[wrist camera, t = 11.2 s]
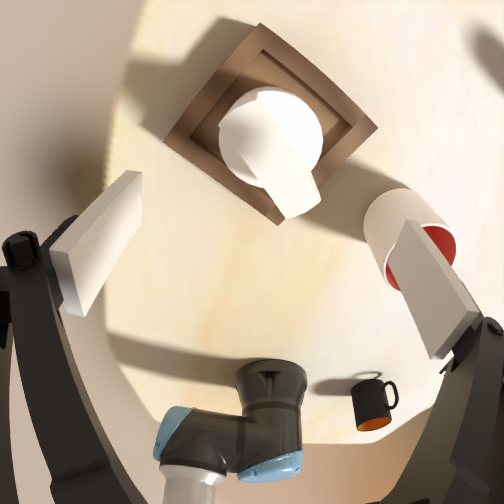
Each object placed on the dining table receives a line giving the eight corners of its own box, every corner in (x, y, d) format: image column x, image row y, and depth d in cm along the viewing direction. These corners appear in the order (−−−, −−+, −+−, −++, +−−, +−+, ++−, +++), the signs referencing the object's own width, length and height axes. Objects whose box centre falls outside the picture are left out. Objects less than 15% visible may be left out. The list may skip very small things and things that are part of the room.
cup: (352, 198, 37) (375, 241, 29) (419, 175, 35) (457, 211, 26) (368, 256, 42) (388, 304, 34) (428, 235, 40) (457, 278, 32)
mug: (401, 375, 62) (411, 412, 53) (365, 398, 68) (371, 432, 59) (381, 367, 59) (391, 407, 51) (344, 392, 65) (349, 429, 57)
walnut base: (276, 209, 39) (277, 225, 35) (173, 133, 33) (163, 142, 30) (366, 120, 31) (378, 127, 28) (260, 27, 26) (260, 22, 22)
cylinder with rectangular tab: (328, 141, 30) (359, 183, 20) (258, 181, 33) (254, 240, 24) (282, 70, 26) (293, 72, 16) (209, 116, 29) (180, 147, 20)
